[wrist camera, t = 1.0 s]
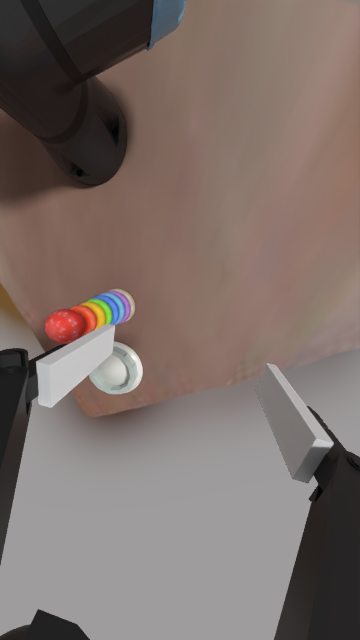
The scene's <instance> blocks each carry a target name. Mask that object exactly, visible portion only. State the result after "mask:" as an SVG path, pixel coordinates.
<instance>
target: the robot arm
mask: <svg viewBox="0 0 360 640" xmlns="http://www.w3.org/2000/svg"><path fill="white" fill-rule="evenodd" d="M185 6H186V0H0V108H1V109H2V110H3V111H5V112H6V113H7V114H8V115H10V116H11V117H12V118H14V119H15V120H16V121H17V122H19V123H20V124H21V125H22V126H24V127H25V128H26V129H27V130H29V131H30V132H31V133H32V134H34V135H35V136H36V137H37V138H38V139H39V140H40V142H41V143H42V144H43V146H44V147H45V148H46V150H47V151H48V152H49V154H50V155H51V157H52V158H53V159H54V161H55V162H56V163H57V165H58V166H59V167H60V168H61V169H62V170H63V171H64V172H65V173H67V174H68V175H69V176H71V177H72V178H74V179H75V180H77V181H78V182H80V183H83V184H86V185H98V184H102V183H104V182H106V181H108V180H109V179H110V178H112V177H113V176H114V175H115V173H116V172H117V171H118V169H119V168H120V166H121V164H122V162H123V159H124V156H125V152H126V145H127V132H126V125H125V121H124V118H123V115H122V113H121V110H120V108H119V107H118V105H117V103H116V101H115V99H114V97H113V95H112V94H111V92H110V91H109V90H108V88H107V87H106V86H105V85H104V84H103V83H102V82H101V81H100V80H99V79H98V78H97V77H96V76H95V75H97V74H99V73H101V72H103V71H105V70H107V69H109V68H111V67H112V66H114V65H116V64H118V63H120V62H122V61H124V60H126V59H128V58H129V57H131V56H133V55H135V54H137V53H139V52H141V51H143V50H145V49H147V51H148V50H150V49H152V47H153V45H154V43H155V42H157V41H159V40H160V39H162V38H163V37H165V36H166V35H168V34H169V33H171V32H172V31H174V30H175V29H176V28H177V27H178V25H179V24H180V22H181V20H182V17H183V14H184V11H185ZM114 331H115V325H111V324H105V325H103V326H101V327H100V328H98V329H96V330H94V331H92V332H90V333H88V334H87V335H85V336H83V337H81V338H79V339H77V340H75V341H74V342H72V343H70V344H64V345H60V346H57V347H55V348H53V349H51V350H49V351H47V352H45V353H43V354H42V355H39V356H37V357H35V358H34V359H32V360H30V361H28V352H27V350H25V349H20V348H13V349H6V350H2V351H0V564H1V558H2V554H3V549H4V544H5V538H6V533H7V528H8V523H9V518H10V513H11V508H12V503H13V498H14V493H15V488H16V482H17V478H18V473H19V468H20V463H21V457H22V452H23V447H24V442H25V437H26V432H27V427H28V422H29V417H30V411H31V407H32V402H31V401H32V400H33V399H34V398H36V397H37V396H38V402H39V405H43V406H47V407H50V408H51V407H53V406H54V405H55V404H56V403H57V402H58V401H59V400H61V399H62V398H63V397H64V396H65V395H66V394H67V393H68V392H70V391H71V390H72V389H73V388H74V387H75V386H76V385H77V384H79V383H80V382H81V381H82V380H83V379H84V378H85V377H86V376H87V375H89V374H90V373H91V372H92V371H93V370H94V369H95V368H96V367H98V366H99V365H100V364H101V363H102V362H103V361H104V360H105V359H107V358H108V357H109V356H110V355H111V354H112V353H113V342H114ZM255 391H256V394H257V396H258V398H259V401H260V403H261V405H262V408H263V410H264V413H265V415H266V417H267V420H268V422H269V425H270V427H271V429H272V432H273V434H274V436H275V439H276V441H277V443H278V446H279V448H280V451H281V453H282V455H283V458H284V460H285V462H286V465H287V467H288V470H289V472H290V475H291V477H292V479H295V480H298V481H302V482H305V483H309V481H310V480H311V478H312V477H313V475H314V476H315V478H316V480H317V482H318V486H317V487H316V489H315V490H314V492H313V493H312V495H311V496H310V498H309V500H310V501H312V503H311V507H310V510H309V514H308V517H307V521H306V525H305V528H304V532H303V536H302V540H301V543H300V547H299V550H298V554H297V558H296V561H295V565H294V568H293V572H292V576H291V580H290V583H289V587H288V591H287V594H286V598H285V602H284V605H283V609H282V613H281V616H280V620H279V623H278V627H277V631H276V635H275V638H274V640H360V457H359V456H357V455H355V454H353V453H351V452H348V451H346V449H345V448H344V447H343V446H342V444H341V443H340V442H339V441H338V439H337V438H336V437H335V435H334V434H333V433H332V432H331V430H330V429H328V427H327V425H326V424H325V423H323V420H322V419H321V418H320V416H319V415H318V414H317V413H316V412H315V411H314V410H312V409H311V408H310V407H309V406H306V405H305V404H304V402H303V401H302V400H301V399H300V397H299V396H298V394H297V393H296V392H295V390H294V389H293V388H292V386H291V385H290V384H289V382H288V381H287V380H286V378H285V377H284V376H283V374H282V373H281V372H280V370H279V369H278V368H277V366H276V365H272V364H268V363H266V365H265V367H264V370H263V372H262V375H261V377H260V380H259V382H258V385H257V387H256V390H255ZM0 640H90V639H89V638H88V637H87V636H86V635H85V633H84V632H83V631H82V630H81V629H80V627H79V626H78V625H77V624H75V623H72V622H70V621H67V620H64V619H62V618H59V617H57V616H54V615H52V614H49V613H47V612H44V611H42V610H39V609H38V611H37V612H36V615H35V617H34V619H33V621H32V623H31V624H30V625H25V626H22V627H19V628H16V629H13V630H11V631H9V632H7V633H5V634H3V635H1V636H0Z"/></svg>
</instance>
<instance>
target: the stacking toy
mask: <svg viewBox="0 0 360 640" xmlns="http://www.w3.org/2000/svg"><path fill="white" fill-rule="evenodd" d="M134 312H135V303H134V300H133V298H132V297H131V295H130V294H129V293H127V292H126V291H124V290H121V289H112V290H109V291H108V292H106V293H102V294H100V295H98V296H95V297H93V298H92V299H90V300H88V301H86V302H84V303H82V304H80V305H77V306H74V307H72V308H71V309H70V310H69V309H62V310H58V311H55V312H53V313H52V314H50V315H49V316H48V318H47V319H46V321H45V326H44V328H45V332H46V334H47V336H48V337H49V338H50V339H52V340H53V341H55V342H57V343H63V344H66V343H72V342H74V341H75V340H77V339H79V338H81V336H82V335H86V334H88V333H90V332H92V331H94V330H96V329H98V328H100V327H101V326H103V325H105V324H111V325H116V324H121V323H123V322H126V321H128V320H129V319H130V318H131V317H132V316H133V314H134Z"/></svg>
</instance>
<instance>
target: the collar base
mask: <svg viewBox="0 0 360 640" xmlns="http://www.w3.org/2000/svg"><path fill="white" fill-rule="evenodd" d="M142 375H143V366H142V363H141V360H140V358H139V356H138V355H137V354H136V352H135V351H134V350H133V349H131V348H130V347H129V346H127V345H125V344H123V343H121V342H117V341H114V342H113V353H112V354H111V355H110V356H109V357H108V358H107V359H105V360H104V361H103V362H102V363H101V364H100V365H99V366H98V367H96V368H95V369H94V370H93V371H92V372H91V373H90V374H89V378H90V379H91V381H92V382H93V383H94V384H95V385H96V387H97V388H98V387H99V388H98V389H100V390H102V391H104V392H106V393H108V394H109V393H110V394H122V393H126V392H130V391H132V390H133V389H135V388H136V387H137V386H138V384H139V383H140V381H141V379H142Z"/></svg>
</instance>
